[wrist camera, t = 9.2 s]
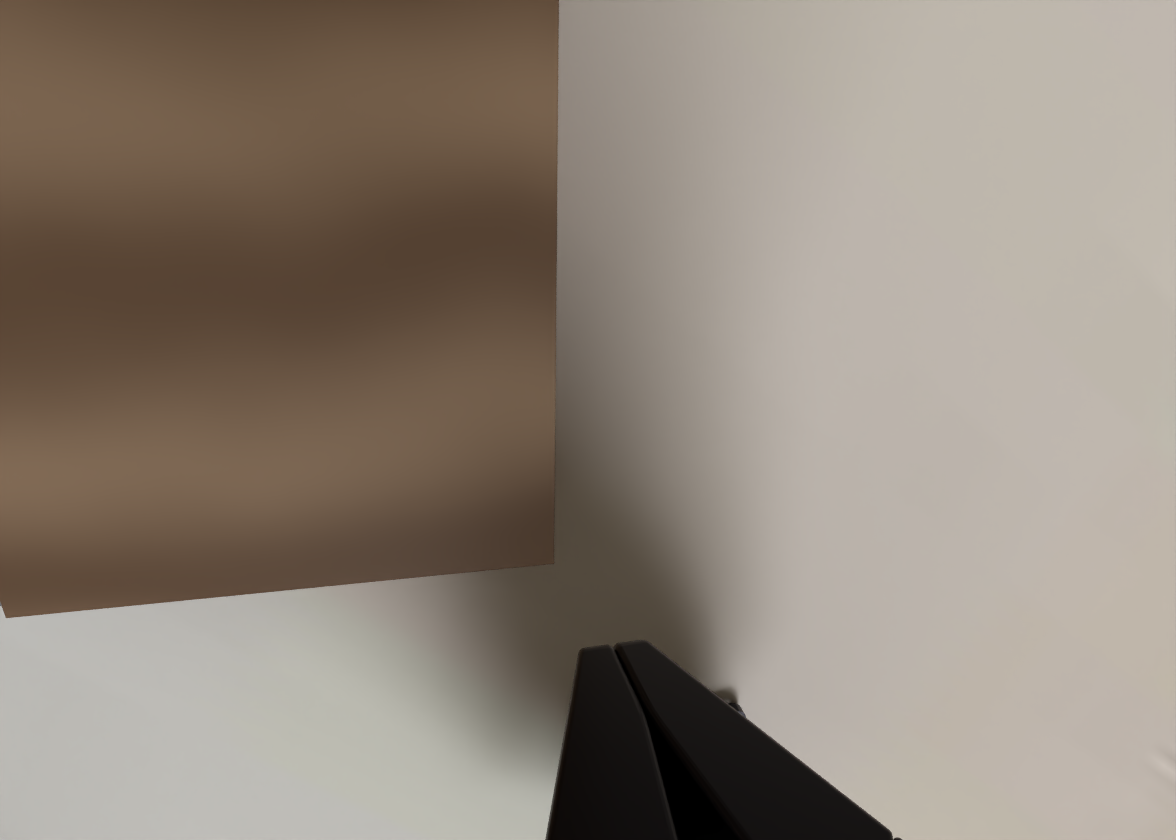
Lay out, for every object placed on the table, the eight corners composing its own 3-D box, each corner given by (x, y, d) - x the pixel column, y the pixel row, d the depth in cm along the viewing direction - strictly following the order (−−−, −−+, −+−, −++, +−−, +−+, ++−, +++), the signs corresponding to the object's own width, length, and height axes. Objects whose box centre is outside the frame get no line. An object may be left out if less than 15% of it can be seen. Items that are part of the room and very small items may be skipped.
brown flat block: (533, 493, 20) (554, 563, 16) (100, 525, 17) (5, 618, 13) (530, -35, 15) (560, -108, 11) (-74, -98, 12) (-297, -220, 9)
